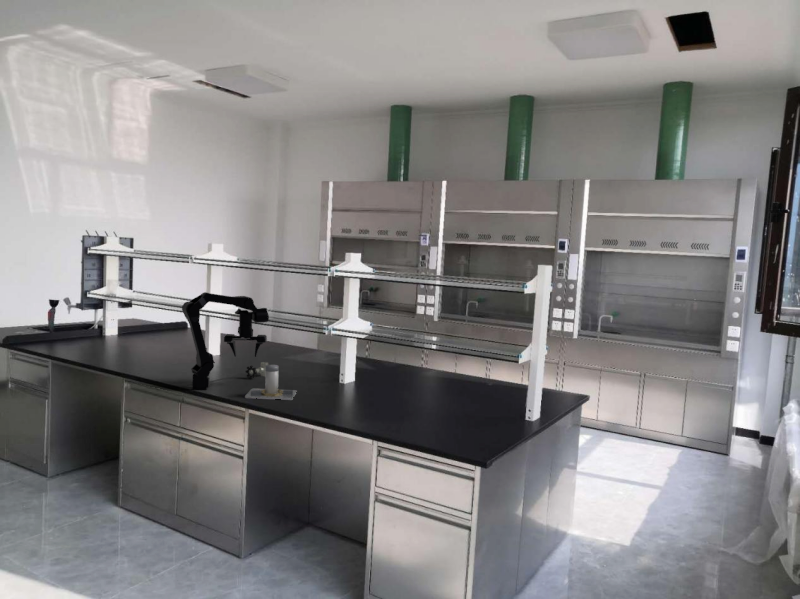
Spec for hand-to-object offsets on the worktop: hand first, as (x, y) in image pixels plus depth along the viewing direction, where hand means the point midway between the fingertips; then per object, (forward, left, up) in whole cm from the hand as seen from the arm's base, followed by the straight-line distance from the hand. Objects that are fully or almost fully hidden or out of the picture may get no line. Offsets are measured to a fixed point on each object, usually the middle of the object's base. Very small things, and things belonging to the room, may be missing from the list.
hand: (245, 356), depth 291 cm
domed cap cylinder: (+13, -20, -12) cm, 27 cm away
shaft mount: (+13, -20, -13) cm, 28 cm away
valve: (+5, +16, -13) cm, 22 cm away
